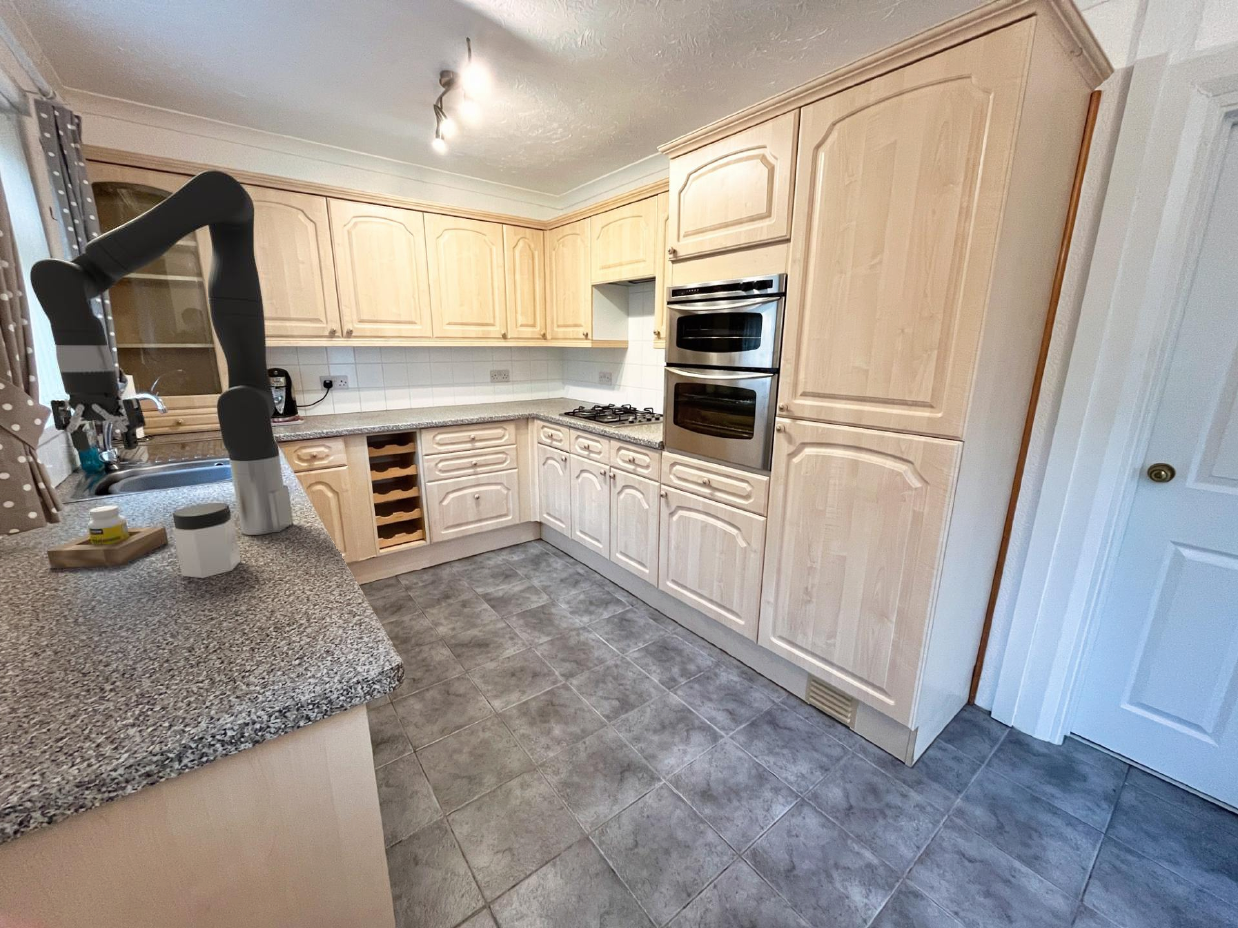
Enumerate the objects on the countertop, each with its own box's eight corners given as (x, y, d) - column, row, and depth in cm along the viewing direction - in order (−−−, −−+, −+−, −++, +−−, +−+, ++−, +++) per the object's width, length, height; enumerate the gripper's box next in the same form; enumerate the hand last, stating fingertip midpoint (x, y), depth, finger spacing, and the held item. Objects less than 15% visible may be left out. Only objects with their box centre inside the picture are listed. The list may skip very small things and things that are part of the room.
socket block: (168, 541, 107) (165, 526, 107) (121, 565, 96) (117, 548, 95) (106, 543, 106) (102, 528, 105) (51, 567, 94) (46, 550, 94)
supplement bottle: (90, 561, 97) (78, 514, 95) (102, 551, 102) (91, 506, 100) (126, 556, 100) (116, 510, 98) (137, 547, 104) (127, 502, 102)
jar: (229, 575, 92) (218, 514, 90) (175, 581, 90) (162, 519, 87) (246, 556, 101) (236, 500, 98) (196, 562, 98) (185, 504, 95)
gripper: (143, 368, 102) (160, 445, 106) (64, 368, 100) (84, 447, 104) (112, 370, 95) (132, 453, 98) (26, 370, 93) (49, 455, 96)
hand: (107, 450), depth 101 cm, fingers open, 8 cm apart
